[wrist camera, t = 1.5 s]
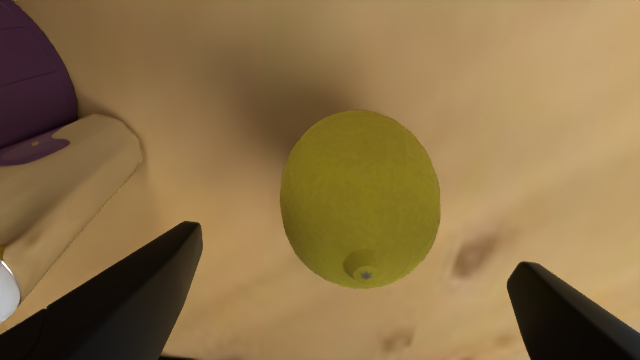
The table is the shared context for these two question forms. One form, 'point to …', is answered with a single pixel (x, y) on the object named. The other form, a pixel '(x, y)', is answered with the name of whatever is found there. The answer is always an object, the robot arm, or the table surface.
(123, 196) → the table surface
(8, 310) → the shiny round-topped post
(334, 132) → the lemon
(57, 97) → the jar
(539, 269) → the robot arm
